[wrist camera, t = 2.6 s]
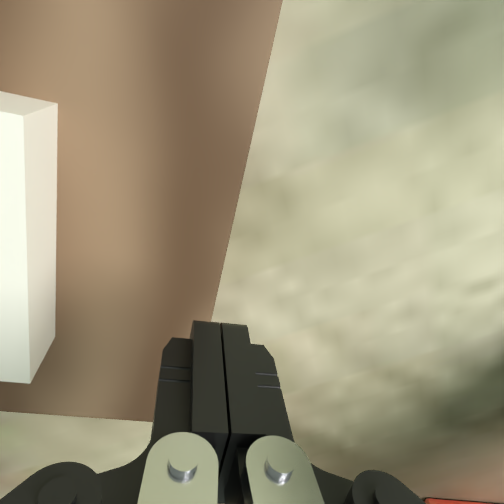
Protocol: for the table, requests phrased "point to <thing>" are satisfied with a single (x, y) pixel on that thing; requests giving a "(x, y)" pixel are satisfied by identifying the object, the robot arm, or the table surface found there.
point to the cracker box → (449, 501)
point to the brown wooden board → (135, 179)
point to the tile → (27, 233)
